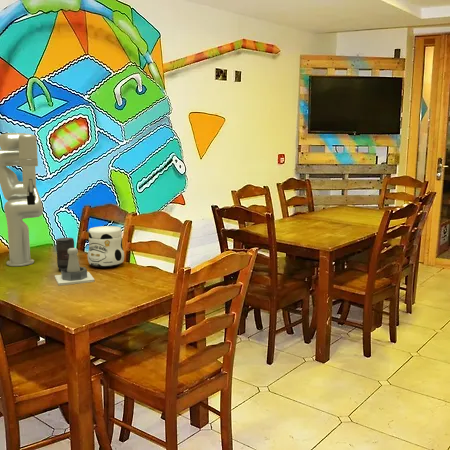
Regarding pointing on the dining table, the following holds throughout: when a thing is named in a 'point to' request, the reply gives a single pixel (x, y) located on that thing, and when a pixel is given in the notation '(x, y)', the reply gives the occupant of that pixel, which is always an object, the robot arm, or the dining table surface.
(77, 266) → the salt shaker
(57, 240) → the camera lens
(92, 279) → the holder board
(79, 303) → the dining table surface
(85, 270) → the holder ring
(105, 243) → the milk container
